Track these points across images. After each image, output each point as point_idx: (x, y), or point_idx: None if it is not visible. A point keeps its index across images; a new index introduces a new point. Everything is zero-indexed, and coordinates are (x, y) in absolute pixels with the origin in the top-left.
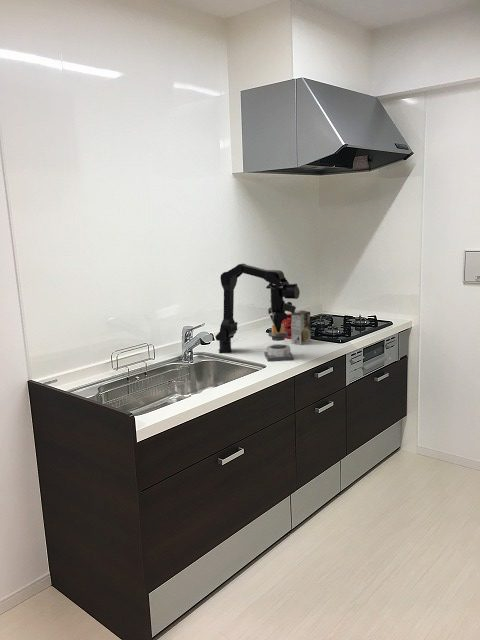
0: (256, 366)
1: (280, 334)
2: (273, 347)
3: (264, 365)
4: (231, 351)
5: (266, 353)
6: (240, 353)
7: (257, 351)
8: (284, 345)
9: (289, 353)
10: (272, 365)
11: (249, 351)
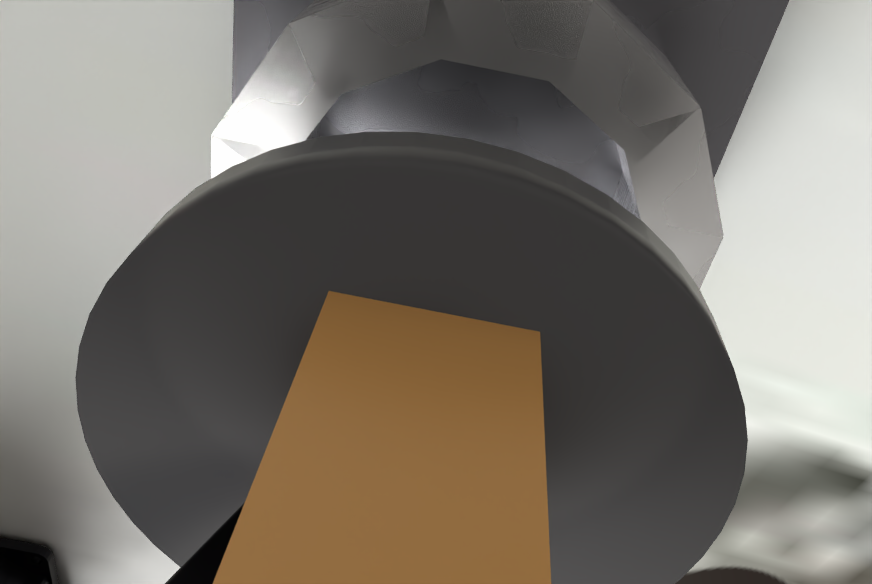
0: (761, 529)
1: (649, 491)
2: None
3: (781, 455)
4: (47, 561)
5: None
6: (105, 494)
7: (19, 310)
8: (371, 79)
9: (621, 15)
10: (851, 382)
11: (11, 392)
